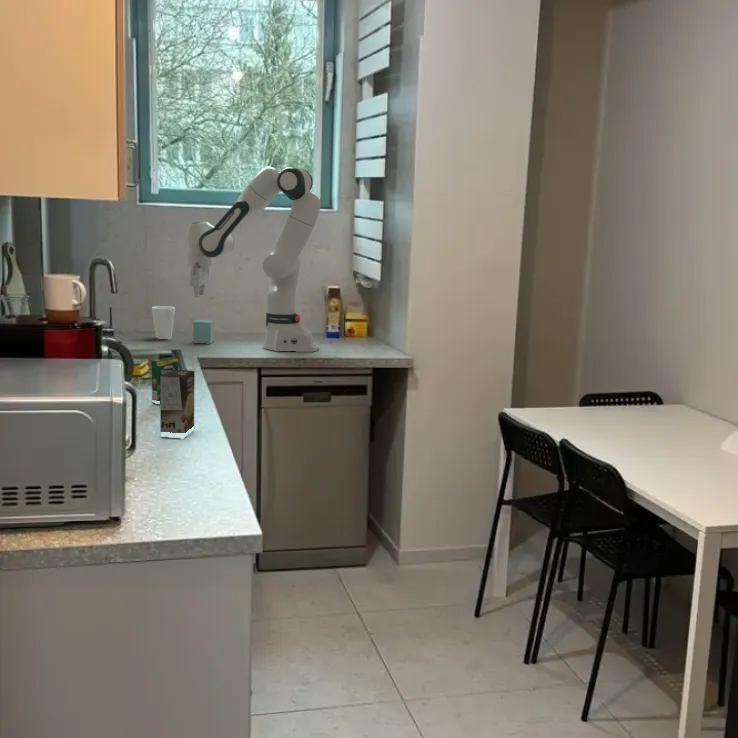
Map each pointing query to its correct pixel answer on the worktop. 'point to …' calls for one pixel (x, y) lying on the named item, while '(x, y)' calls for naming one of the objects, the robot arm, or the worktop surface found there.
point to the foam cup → (163, 321)
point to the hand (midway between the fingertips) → (199, 296)
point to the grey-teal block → (203, 331)
